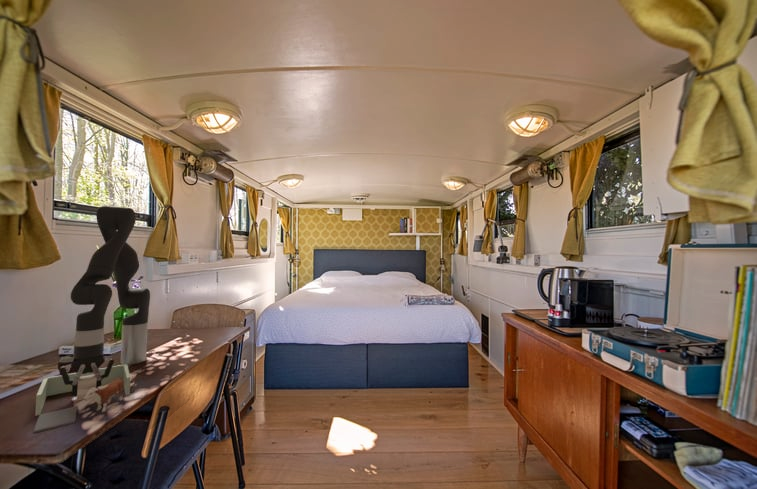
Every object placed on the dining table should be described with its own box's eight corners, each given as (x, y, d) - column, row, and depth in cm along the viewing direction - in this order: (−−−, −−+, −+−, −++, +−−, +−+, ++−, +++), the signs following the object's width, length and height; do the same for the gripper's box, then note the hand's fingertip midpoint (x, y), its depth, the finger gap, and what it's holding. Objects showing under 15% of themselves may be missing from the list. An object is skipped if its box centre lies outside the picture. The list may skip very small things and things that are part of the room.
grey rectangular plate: (39, 416, 92) (39, 414, 92) (77, 407, 97) (77, 406, 97) (33, 433, 83) (33, 431, 83) (75, 422, 89) (75, 420, 89)
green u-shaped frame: (42, 396, 105) (44, 378, 106) (126, 379, 120) (126, 364, 120) (35, 415, 92) (36, 395, 92) (129, 394, 107) (130, 377, 107)
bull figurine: (79, 418, 91) (80, 390, 91) (114, 398, 104) (115, 373, 105) (94, 418, 91) (96, 390, 91) (128, 398, 104) (129, 373, 105)
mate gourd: (52, 380, 118) (54, 341, 119) (65, 373, 126) (67, 336, 127) (77, 378, 121) (79, 339, 122) (88, 371, 128) (90, 335, 129)
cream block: (77, 396, 106) (78, 377, 106) (95, 392, 109) (96, 373, 109) (76, 400, 102) (77, 381, 102) (95, 396, 105) (96, 377, 106)
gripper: (116, 337, 114) (113, 384, 113) (60, 343, 104) (57, 395, 103) (117, 341, 108) (114, 390, 107) (58, 348, 99) (55, 403, 98)
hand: (86, 392), depth 105 cm, fingers closed on cream block, 4 cm apart
